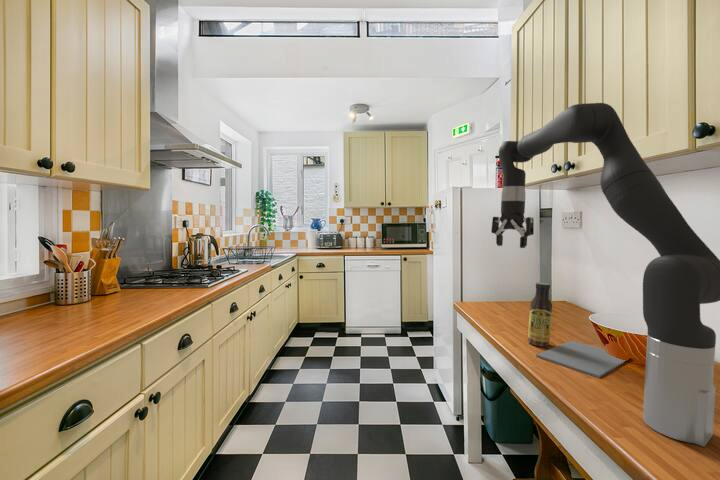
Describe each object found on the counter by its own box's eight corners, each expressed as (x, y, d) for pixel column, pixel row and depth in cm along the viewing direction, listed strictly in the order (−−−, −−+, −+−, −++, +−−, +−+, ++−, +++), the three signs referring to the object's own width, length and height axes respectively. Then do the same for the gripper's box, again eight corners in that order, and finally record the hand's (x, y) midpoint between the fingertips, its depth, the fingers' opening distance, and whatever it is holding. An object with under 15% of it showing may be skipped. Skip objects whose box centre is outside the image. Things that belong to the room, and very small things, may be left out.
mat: (631, 358, 97) (631, 356, 97) (598, 377, 84) (599, 375, 84) (571, 342, 110) (571, 340, 110) (536, 356, 98) (536, 354, 98)
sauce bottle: (527, 345, 107) (529, 283, 106) (527, 339, 112) (529, 280, 111) (550, 349, 104) (553, 285, 103) (550, 342, 109) (552, 282, 108)
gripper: (488, 200, 119) (486, 245, 120) (527, 199, 107) (524, 249, 109) (500, 201, 123) (498, 244, 125) (539, 199, 112) (536, 248, 113)
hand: (510, 246), depth 117 cm, fingers open, 8 cm apart
